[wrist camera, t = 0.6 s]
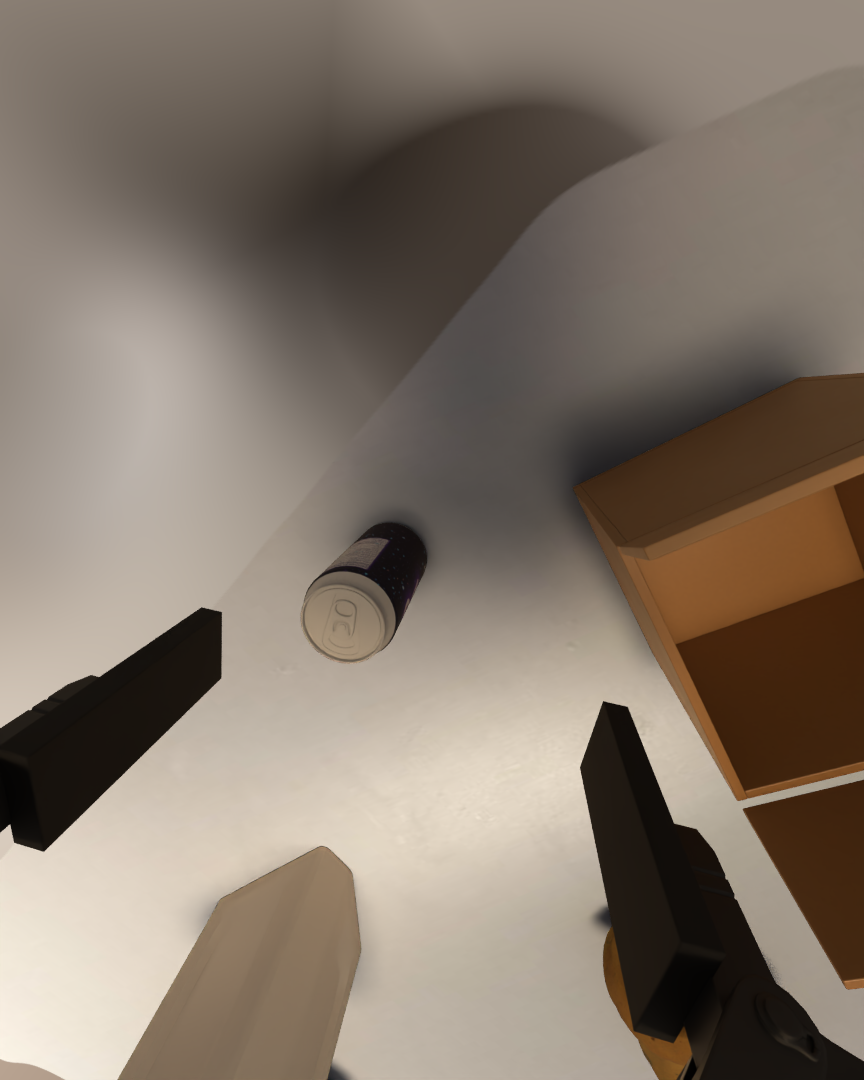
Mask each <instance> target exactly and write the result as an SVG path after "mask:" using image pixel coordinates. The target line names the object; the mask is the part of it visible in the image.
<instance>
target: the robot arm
mask: <svg viewBox="0 0 864 1080" xmlns="http://www.w3.org/2000/svg"><path fill="white" fill-rule="evenodd" d="M221 659H222V612H219V611H214V610H210V609H206V608H200V609H199V610H197V611H196V612H194V613H193V614H191V615H190V616H188V617H187V618H185V619H184V620H182V621H181V622H180V623H178V624H177V625H175V626H174V627H172V628H171V629H169V630H168V631H167V632H165V633H163V634H162V635H160V636H159V637H158V638H156V639H155V640H153V641H152V642H150V643H149V644H147V645H146V646H145V647H143V648H141V649H140V650H138V651H137V652H136V653H134V654H133V655H131V656H130V657H128V658H127V659H125V660H124V661H122V662H121V663H120V664H118V665H116V666H115V667H114V668H112V669H111V670H109V671H108V672H106V673H105V674H103V675H102V676H101V677H96V676H92V675H90V676H88V677H85V678H83V679H80V680H78V681H75V682H73V683H70V684H68V685H66V686H65V687H63V688H62V689H60V690H59V691H57V692H55V693H54V694H53V695H51V696H49V697H48V699H47V700H43V701H42V702H40V703H39V704H37V705H36V706H34V707H33V708H32V710H28V711H26V712H25V713H23V714H22V715H20V716H19V717H17V718H15V719H14V720H12V721H11V722H9V723H8V724H6V725H5V726H3V727H2V728H0V832H1V831H2V830H4V829H5V828H6V827H7V826H8V825H11V829H12V835H13V839H14V843H17V844H20V845H23V846H27V847H30V848H33V849H37V850H40V851H43V852H44V851H45V850H46V849H47V848H48V847H49V846H50V845H51V844H52V843H53V842H54V841H55V840H56V839H57V838H58V837H59V836H60V835H61V834H63V833H64V832H65V831H66V830H67V829H68V828H69V827H70V826H71V825H72V824H73V823H74V822H75V821H76V820H77V819H78V818H79V817H80V816H81V815H82V814H83V813H84V812H85V811H86V810H87V809H88V808H89V807H90V806H91V805H92V804H93V803H94V802H95V801H96V800H97V799H98V798H99V797H100V796H101V795H102V794H103V793H104V792H105V791H106V790H107V789H108V788H110V787H111V786H112V785H113V784H114V783H115V782H116V781H117V780H118V779H119V778H120V777H121V776H122V775H123V774H124V773H125V772H126V771H127V770H128V769H129V768H130V767H131V766H132V765H133V764H134V763H135V762H136V761H137V760H138V759H139V758H140V757H141V756H142V755H143V754H144V753H145V752H146V751H147V750H148V749H149V748H150V747H151V746H152V745H153V744H154V743H155V742H157V741H158V740H159V739H160V738H161V737H162V736H163V735H164V734H165V733H166V732H167V731H168V730H169V729H170V728H171V727H172V726H173V725H174V724H175V723H176V722H177V721H178V720H179V719H180V718H181V717H182V716H183V715H184V714H185V713H186V712H187V711H188V710H189V709H190V708H191V707H192V706H193V705H194V704H195V703H196V702H197V701H198V700H199V699H200V698H201V697H202V696H204V695H205V694H206V693H207V692H208V691H209V690H210V689H211V688H212V687H213V686H214V685H215V684H216V683H217V682H218V681H219V680H220V679H221ZM580 770H581V775H582V780H583V784H584V789H585V794H586V799H587V804H588V809H589V814H590V819H591V824H592V829H593V834H594V839H595V844H596V848H597V853H598V858H599V863H600V868H601V873H602V878H603V883H604V888H605V893H606V898H607V903H608V908H609V912H610V917H611V922H612V927H613V932H614V937H615V942H616V947H617V952H618V957H619V962H620V967H621V972H622V976H623V981H624V986H625V991H626V996H627V1001H628V1006H629V1011H630V1016H631V1021H632V1026H633V1031H634V1032H637V1033H641V1034H644V1035H647V1036H650V1037H654V1038H657V1039H660V1040H664V1041H667V1042H670V1043H673V1044H674V1042H675V1040H676V1039H677V1037H678V1035H679V1034H680V1032H681V1030H682V1029H683V1027H685V1031H686V1034H687V1038H688V1041H689V1045H690V1048H691V1052H692V1055H691V1057H690V1059H689V1060H688V1062H687V1063H686V1065H685V1067H684V1068H683V1070H682V1071H681V1073H680V1075H679V1076H678V1078H677V1079H676V1080H864V1061H862V1060H861V1059H859V1058H857V1057H856V1056H854V1055H852V1054H851V1053H849V1052H848V1051H846V1050H844V1049H843V1048H841V1047H839V1046H838V1045H836V1044H835V1043H833V1042H831V1041H830V1040H829V1039H827V1038H826V1037H824V1036H823V1035H822V1034H820V1033H819V1030H818V1029H817V1027H816V1026H815V1024H814V1023H813V1021H812V1020H811V1018H810V1017H809V1015H808V1014H807V1012H806V1011H805V1010H804V1008H803V1007H802V1006H801V1005H800V1004H799V1003H798V1002H797V1001H796V1000H795V999H794V998H793V997H792V996H791V995H790V994H789V993H788V992H787V991H785V990H784V989H783V988H781V987H780V986H778V985H777V984H776V982H775V980H774V978H773V977H772V975H771V973H770V970H769V968H768V966H767V964H766V962H765V960H764V957H763V955H762V953H761V951H760V949H759V947H758V944H757V942H756V940H755V938H754V936H753V934H752V932H751V929H750V927H749V925H748V923H747V921H746V919H745V916H744V914H743V912H742V910H741V908H740V906H739V903H738V901H737V900H736V899H735V898H734V893H733V890H732V888H731V886H730V884H729V882H728V880H726V879H725V873H724V871H723V869H722V867H721V865H720V862H719V860H718V858H717V856H716V854H715V852H714V850H713V849H712V848H711V847H710V845H709V844H708V843H707V842H706V840H705V839H704V838H703V837H702V835H701V834H700V833H699V832H698V830H697V829H693V828H689V827H685V826H681V825H678V824H674V822H673V820H672V817H671V815H670V812H669V810H668V807H667V805H666V802H665V800H664V797H663V795H662V792H661V790H660V787H659V785H658V782H657V780H656V777H655V775H654V772H653V770H652V767H651V764H650V762H649V759H648V757H647V754H646V752H645V749H644V747H643V744H642V742H641V739H640V737H639V734H638V732H637V729H636V727H635V724H634V722H633V719H632V717H631V714H630V712H629V709H628V707H625V706H621V705H617V704H613V703H608V702H604V701H603V703H602V706H601V709H600V712H599V715H598V718H597V720H596V723H595V726H594V729H593V732H592V735H591V738H590V740H589V743H588V746H587V749H586V752H585V755H584V758H583V760H582V763H581V766H580Z"/></svg>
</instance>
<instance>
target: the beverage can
mask: <svg viewBox="0 0 864 1080" xmlns="http://www.w3.org/2000/svg"><path fill="white" fill-rule="evenodd" d="M426 564H427V556H426V551H425V548H424V545H423V543H422V541H421V540H420V538H419V537H418V536H417V535H416V534H415V533H414V532H413V531H412V530H410V529H409V528H407V527H405V526H403V525H400V524H396V523H382V524H378V525H375V526H373V527H371V528H370V529H368V530H367V531H366V532H365V533H364V534H363V535H362V536H361V537H360V538H359V539H358V540H357V541H356V542H354V543H353V544H352V545H351V546H350V547H349V548H348V549H347V550H346V551H345V552H344V553H343V554H342V555H341V556H340V557H339V558H338V559H337V560H336V561H334V562H333V563H332V564H331V565H330V566H329V567H328V568H327V569H326V570H325V571H324V572H323V573H322V574H321V575H320V576H319V577H318V578H317V579H315V580H314V582H313V583H312V584H311V585H310V587H309V588H308V590H307V593H306V595H305V599H304V604H303V607H302V611H301V626H302V629H303V632H304V635H305V637H306V639H307V640H308V642H309V643H310V644H311V646H312V647H313V648H314V649H315V650H316V651H317V652H318V653H320V654H321V655H323V656H324V657H326V658H328V659H330V660H333V661H336V662H340V663H348V664H350V663H358V662H362V661H364V660H367V659H369V658H370V657H372V656H373V655H374V654H376V653H378V652H379V651H381V650H382V649H384V648H385V647H386V646H387V645H388V644H389V643H390V642H391V640H392V639H393V637H394V635H395V633H396V631H397V628H398V626H399V624H400V622H401V620H402V618H403V616H404V614H405V612H406V609H407V607H408V605H409V603H410V601H411V599H412V597H413V595H414V593H415V590H416V588H417V586H418V584H419V582H420V580H421V578H422V576H423V574H424V571H425V568H426Z"/></svg>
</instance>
